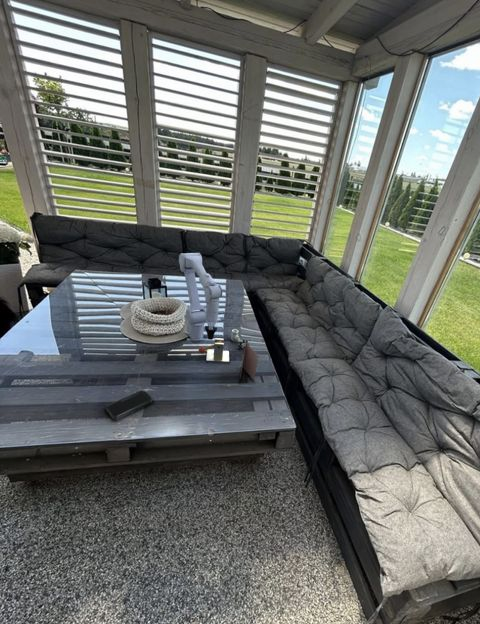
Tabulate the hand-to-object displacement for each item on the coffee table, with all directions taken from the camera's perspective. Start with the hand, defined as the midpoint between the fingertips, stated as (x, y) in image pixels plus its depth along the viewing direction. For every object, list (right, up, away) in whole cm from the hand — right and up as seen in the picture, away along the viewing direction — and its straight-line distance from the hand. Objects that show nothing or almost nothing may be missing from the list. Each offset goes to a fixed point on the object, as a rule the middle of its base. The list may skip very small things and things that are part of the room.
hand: (210, 335), depth 141 cm
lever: (0, -7, 0) cm, 7 cm away
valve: (+11, -5, +16) cm, 20 cm away
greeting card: (+18, -20, -5) cm, 27 cm away
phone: (-25, -29, -31) cm, 49 cm away
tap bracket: (+3, -11, +3) cm, 12 cm away
